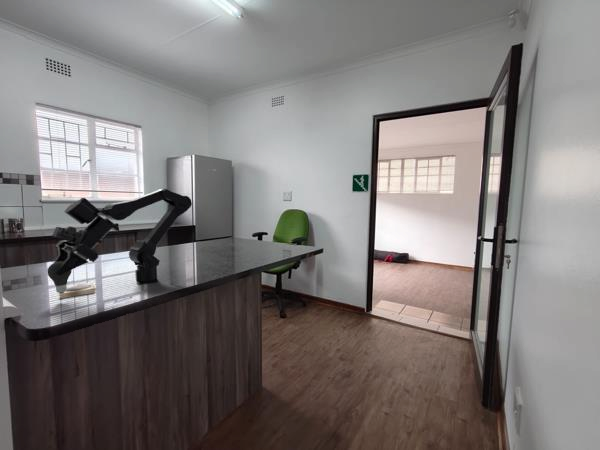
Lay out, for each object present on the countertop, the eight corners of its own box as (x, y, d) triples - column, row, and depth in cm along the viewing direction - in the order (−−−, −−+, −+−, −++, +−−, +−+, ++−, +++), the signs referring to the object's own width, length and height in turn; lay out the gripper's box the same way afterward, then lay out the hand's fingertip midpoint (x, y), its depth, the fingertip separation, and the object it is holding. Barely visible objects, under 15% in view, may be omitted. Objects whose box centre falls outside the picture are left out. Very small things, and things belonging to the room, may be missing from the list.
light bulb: (59, 296, 82) (56, 263, 81) (44, 295, 83) (41, 263, 82) (78, 290, 87) (75, 259, 87) (63, 289, 89) (61, 259, 88)
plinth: (93, 286, 100) (93, 281, 100) (95, 292, 94) (94, 287, 93) (60, 291, 95) (60, 286, 95) (60, 298, 88) (59, 293, 88)
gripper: (61, 216, 92) (18, 254, 84) (82, 218, 81) (35, 261, 73) (91, 237, 99) (54, 274, 91) (114, 241, 88) (74, 283, 80)
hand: (54, 273), depth 84 cm, fingers closed on light bulb, 6 cm apart
